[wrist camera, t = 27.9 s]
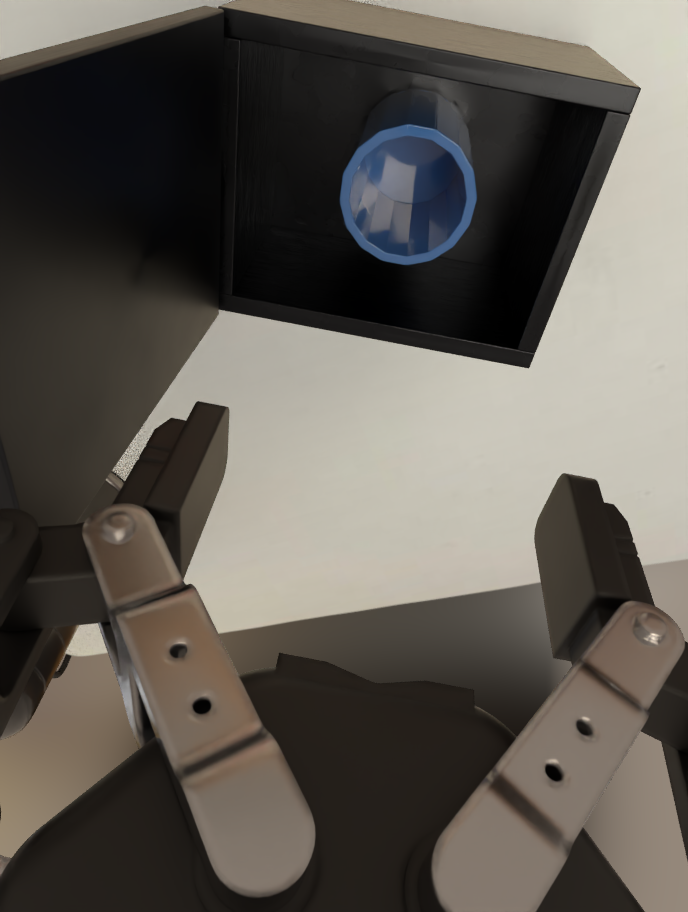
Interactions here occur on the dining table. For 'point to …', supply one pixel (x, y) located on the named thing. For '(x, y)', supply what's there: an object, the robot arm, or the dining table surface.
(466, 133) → the cup
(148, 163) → the black box lid
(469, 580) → the dining table surface
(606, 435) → the dining table surface
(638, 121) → the dining table surface
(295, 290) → the black lidded box
